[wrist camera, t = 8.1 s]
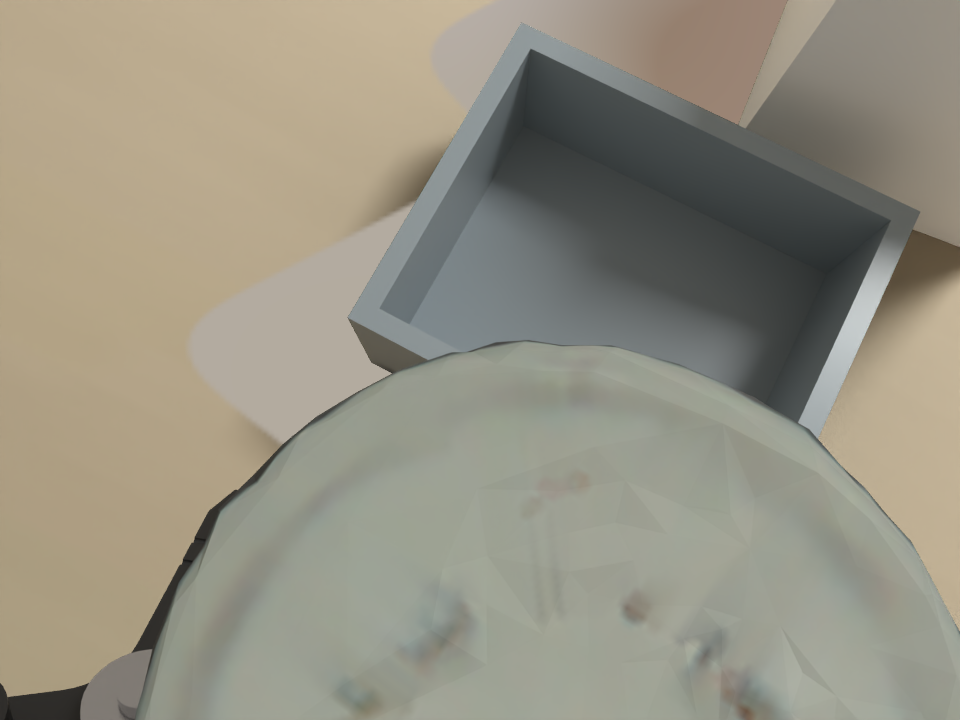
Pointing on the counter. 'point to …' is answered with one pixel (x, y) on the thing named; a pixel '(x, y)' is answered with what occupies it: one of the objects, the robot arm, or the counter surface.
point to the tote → (634, 237)
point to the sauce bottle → (553, 561)
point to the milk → (870, 98)
